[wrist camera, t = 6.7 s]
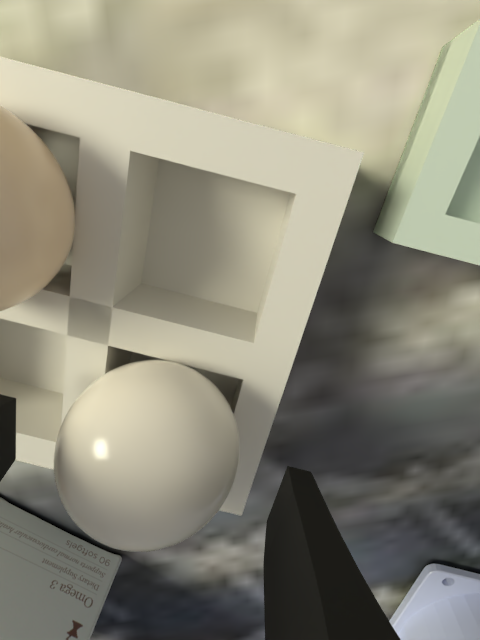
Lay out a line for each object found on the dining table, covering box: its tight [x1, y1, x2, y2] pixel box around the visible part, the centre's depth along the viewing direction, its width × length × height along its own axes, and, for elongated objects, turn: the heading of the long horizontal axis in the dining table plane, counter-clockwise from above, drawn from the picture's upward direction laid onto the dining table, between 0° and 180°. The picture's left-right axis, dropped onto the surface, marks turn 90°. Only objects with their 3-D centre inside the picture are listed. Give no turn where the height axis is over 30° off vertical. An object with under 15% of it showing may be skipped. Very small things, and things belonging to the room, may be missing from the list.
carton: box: [0, 57, 364, 516], centre depth 12 cm, size 12×12×3 cm
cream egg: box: [54, 360, 240, 552], centre depth 10 cm, size 5×5×5 cm
